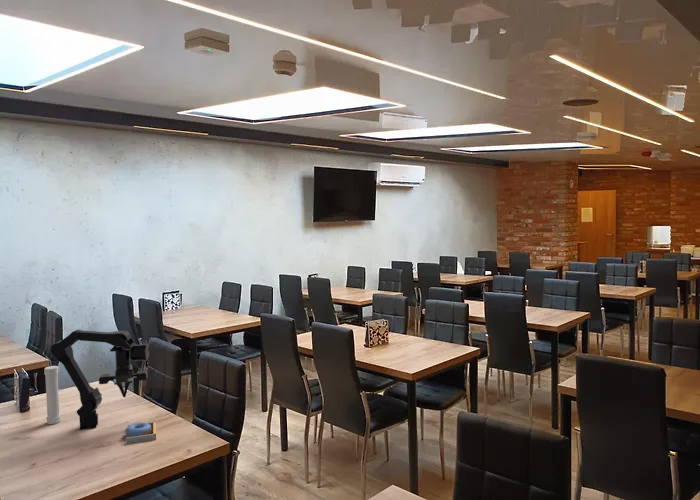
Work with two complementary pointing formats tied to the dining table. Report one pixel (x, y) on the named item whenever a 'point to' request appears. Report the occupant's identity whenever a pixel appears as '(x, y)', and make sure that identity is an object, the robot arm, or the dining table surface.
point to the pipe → (52, 394)
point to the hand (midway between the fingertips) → (124, 397)
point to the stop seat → (143, 437)
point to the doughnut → (138, 429)
